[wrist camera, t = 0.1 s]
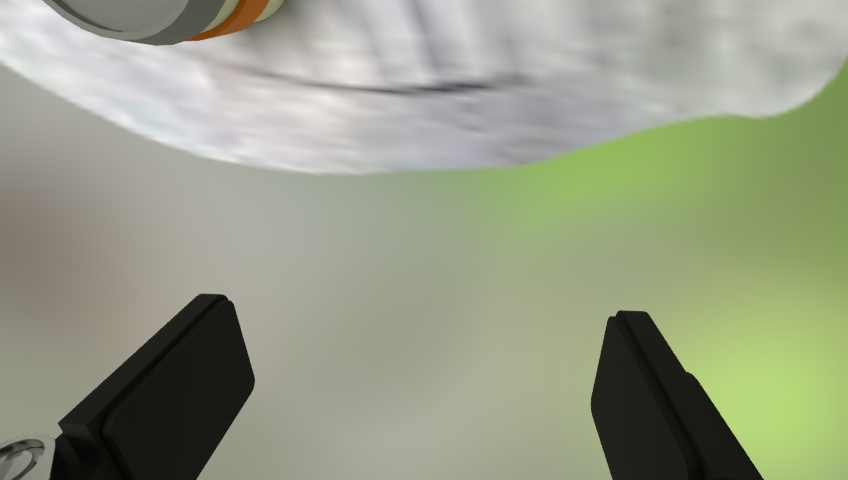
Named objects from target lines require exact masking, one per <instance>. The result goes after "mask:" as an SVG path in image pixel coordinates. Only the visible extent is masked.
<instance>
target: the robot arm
mask: <svg viewBox="0 0 848 480" xmlns="http://www.w3.org/2000/svg"><path fill="white" fill-rule="evenodd" d="M254 383H255V378H254V374H253V370H252V367H251V363H250V360H249V356H248V353H247V349H246V346H245V342H244V339H243V335H242V332H241V328H240V325H239V321H238V318H237V314H236V311H235V307H234V304H233V303H232V302H231V301H229V300H228V298H227V297H226V296H225V295H221V294H199V295H198V296H196V298H194V299H193V300H192V301H191V302H190V303H189V304H188V305H187V306H185V307H184V308H183V309H182V310H181V311H180V312H179V313H178V314H177V315H176V316H175V317H173V318H172V319H171V320H170V321H169V322H168V323H167V324H166V325H165V326H164V327H163V328H161V329H160V330H159V331H158V332H157V333H156V334H155V335H154V336H153V337H152V338H150V339H149V340H148V341H147V342H146V343H145V344H144V345H143V346H142V347H141V348H139V349H138V350H137V351H136V352H135V353H134V354H133V355H132V356H131V357H130V358H129V359H127V360H126V361H125V362H124V363H123V364H122V365H121V366H120V367H119V368H118V369H116V370H115V371H114V372H113V373H112V374H111V375H110V376H109V377H108V378H107V379H105V380H104V381H103V382H102V383H101V384H100V385H99V386H98V387H97V388H96V389H95V390H93V391H92V392H91V393H90V394H89V395H88V396H87V397H86V398H85V399H84V400H83V401H81V402H80V403H79V404H78V405H77V406H76V407H75V408H74V409H73V410H72V411H70V412H69V413H68V414H67V415H66V416H65V417H64V418H63V419H62V420H61V421H59V422H58V424H59V426H60V427H61V429H62V431H63V433H62V434H61V435H60V436H59V437H57V438H56V439H55V438H53V437H52V436H51V435H50V434H48V433H43V432H35V433H27V434H24V435H21V436H17V437H14V438H11V439H9V440H7V441H5V442H2V443H0V480H196V479H197V477H198V476H199V474H200V473H201V471H202V470H203V468H204V466H205V465H206V463H207V462H208V460H209V459H210V457H211V455H212V454H213V452H214V451H215V449H216V448H217V446H218V444H219V443H220V441H221V440H222V438H223V437H224V435H225V433H226V432H227V430H228V429H229V427H230V426H231V424H232V422H233V421H234V419H235V418H236V416H237V415H238V413H239V411H240V410H241V408H242V407H243V405H244V403H245V402H246V400H247V399H248V397H249V396H250V394H251V392H252V391H253V388H254ZM591 412H592V416H593V419H594V422H595V425H596V429H597V432H598V435H599V438H600V441H601V445H602V448H603V451H604V454H605V457H606V460H607V463H608V466H609V470H610V473H611V476H612V479H613V480H764V479H763V478H762V476H761V475H760V473H759V472H758V470H757V469H756V467H755V466H754V464H753V463H752V461H751V460H750V458H749V457H748V455H747V454H746V452H745V451H744V449H743V448H742V446H741V445H740V443H739V442H738V440H737V439H736V437H735V436H734V434H733V433H732V431H731V430H730V428H729V427H728V425H727V424H726V422H725V421H724V419H723V418H722V416H721V415H720V413H719V412H718V410H717V409H716V407H715V406H714V404H713V403H712V401H711V400H710V398H709V397H708V395H707V394H706V392H705V391H704V389H703V388H702V386H701V385H700V383H699V382H698V380H697V379H696V378H695V377H694V376H693V375H692V374H690V373H689V372H686V371H685V370H684V368H683V367H682V365H681V363H680V362H679V360H678V359H677V357H676V356H675V354H674V353H673V351H672V350H671V348H670V346H669V345H668V343H667V342H666V340H665V339H664V337H663V336H662V334H661V333H660V331H659V330H658V328H657V326H656V325H655V323H654V322H653V320H652V319H651V317H650V316H649V314H648V313H647V312H643V311H621V310H620V311H618V312H617V314H616V317H615V316H611V317H609V319H608V321H607V326H606V330H605V335H604V340H603V345H602V349H601V355H600V359H599V364H598V368H597V374H596V378H595V383H594V388H593V392H592V397H591Z"/></svg>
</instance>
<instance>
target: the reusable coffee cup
mask: <svg viewBox="0 0 848 480" xmlns="http://www.w3.org/2000/svg"><path fill="white" fill-rule="evenodd" d="M43 1H44V2H45V3H46V4H47V5H49V6H50V7H51V8H52V9H53V10H55V11H56V12H57V13H58V14H59V15H61V16H62V17H63V18H65V19H67V20H68V21H70V22H72V23H73V24H75V25H77V26H78V27H80V28H81V29H84V30H86V31H89V32H91V33H94V34H96V35H99V36H101V37H106V38H112V39H117V40H123V41H130V42H136V43H143V44H149V45H174V44H177V43H180V42H183V41H200V40H204V39H208V38H213V37H217V36H222V35H226V34H230V33H233V32H237V31H240V30H242V29H244V28H246V27H247V26H249V25H251V24H252V23H254V22H258V21H261V20H265V19H266V18H268V17H270V16H271V15H273V14H274V13H275V12H276V11H277V10H278V9H279V8H280V6H281V5H282V3H283V2H284V0H43Z"/></svg>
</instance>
